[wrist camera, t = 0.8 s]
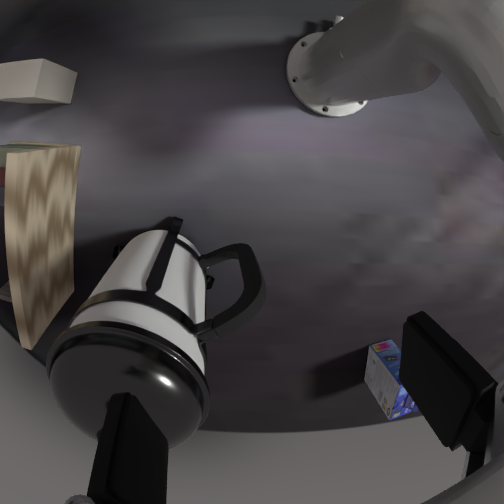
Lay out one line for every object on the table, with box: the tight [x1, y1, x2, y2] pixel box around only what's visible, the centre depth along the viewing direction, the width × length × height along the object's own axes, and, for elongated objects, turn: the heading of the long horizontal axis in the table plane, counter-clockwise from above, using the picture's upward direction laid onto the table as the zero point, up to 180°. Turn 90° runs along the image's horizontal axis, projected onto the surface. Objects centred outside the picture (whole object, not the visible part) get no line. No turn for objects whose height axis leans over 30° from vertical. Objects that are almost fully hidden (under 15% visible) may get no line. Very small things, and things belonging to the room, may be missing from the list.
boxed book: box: [0, 59, 78, 104], centre depth 26 cm, size 4×8×10 cm, turn 77°
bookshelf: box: [0, 142, 81, 350], centre depth 30 cm, size 22×12×16 cm, turn 167°
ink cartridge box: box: [364, 340, 418, 420], centre depth 48 cm, size 10×6×14 cm, turn 7°
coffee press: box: [46, 217, 266, 449], centre depth 28 cm, size 17×16×30 cm
